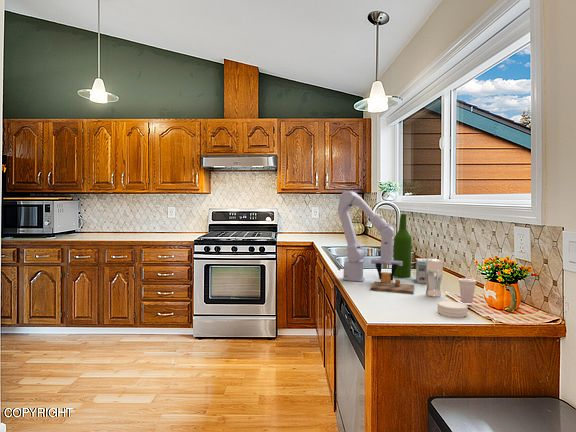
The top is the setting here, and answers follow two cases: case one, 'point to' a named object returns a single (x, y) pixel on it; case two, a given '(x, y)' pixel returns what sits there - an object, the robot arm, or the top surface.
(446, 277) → the top surface
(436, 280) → the beer glass
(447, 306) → the coaster
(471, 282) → the smoothie
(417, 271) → the light bulb box
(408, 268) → the wine bottle
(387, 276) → the orange brown block
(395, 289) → the junction board
